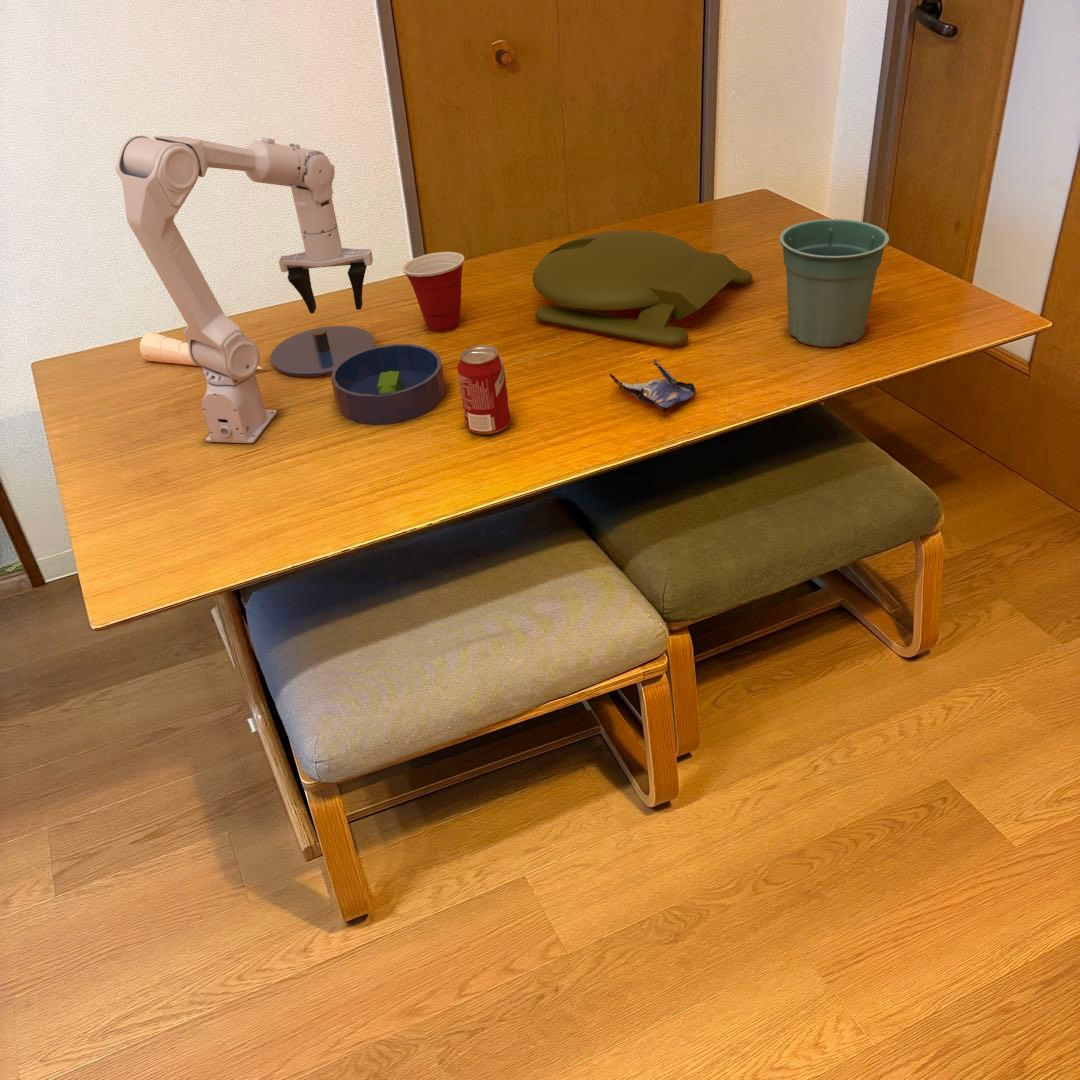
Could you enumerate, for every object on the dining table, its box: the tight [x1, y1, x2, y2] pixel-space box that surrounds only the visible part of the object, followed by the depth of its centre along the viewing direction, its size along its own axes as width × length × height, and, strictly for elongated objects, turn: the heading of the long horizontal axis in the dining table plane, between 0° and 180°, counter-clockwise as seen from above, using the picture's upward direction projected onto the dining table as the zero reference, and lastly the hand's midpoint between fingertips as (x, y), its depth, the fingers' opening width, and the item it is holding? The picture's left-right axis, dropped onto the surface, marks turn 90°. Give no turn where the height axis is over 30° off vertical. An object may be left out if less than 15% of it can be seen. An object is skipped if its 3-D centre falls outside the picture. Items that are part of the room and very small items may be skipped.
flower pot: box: [779, 218, 890, 348], centre depth 173 cm, size 16×16×16 cm
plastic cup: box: [402, 251, 465, 333], centre depth 190 cm, size 11×11×12 cm
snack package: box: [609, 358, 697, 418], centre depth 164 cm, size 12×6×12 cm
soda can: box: [456, 344, 512, 436], centre depth 159 cm, size 7×7×12 cm
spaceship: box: [532, 229, 753, 348], centre depth 192 cm, size 35×31×10 cm
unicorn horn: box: [139, 331, 264, 371], centre depth 187 cm, size 5×24×5 cm, turn 65°
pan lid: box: [270, 325, 376, 377], centre depth 186 cm, size 18×18×4 cm
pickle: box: [377, 371, 402, 394], centre depth 172 cm, size 7×3×3 cm, turn 179°
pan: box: [330, 343, 446, 426], centre depth 172 cm, size 17×17×5 cm
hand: (336, 308), depth 177 cm, fingers open, 7 cm apart
